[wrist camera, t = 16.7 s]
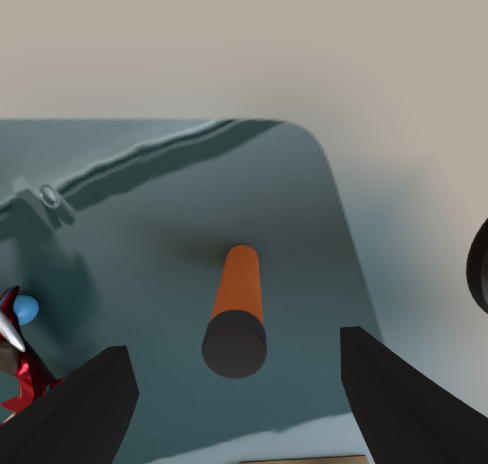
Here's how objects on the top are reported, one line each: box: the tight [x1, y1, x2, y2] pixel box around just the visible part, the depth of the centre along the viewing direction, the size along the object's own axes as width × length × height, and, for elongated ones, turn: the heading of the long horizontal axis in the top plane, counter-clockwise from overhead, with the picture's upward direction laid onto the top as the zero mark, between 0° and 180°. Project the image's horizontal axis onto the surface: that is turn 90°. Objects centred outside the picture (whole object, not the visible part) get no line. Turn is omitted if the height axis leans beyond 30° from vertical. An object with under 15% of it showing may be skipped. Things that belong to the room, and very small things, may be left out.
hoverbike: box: [0, 286, 64, 425], centre depth 17 cm, size 5×12×6 cm, turn 25°
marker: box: [202, 245, 267, 379], centre depth 13 cm, size 2×2×9 cm
